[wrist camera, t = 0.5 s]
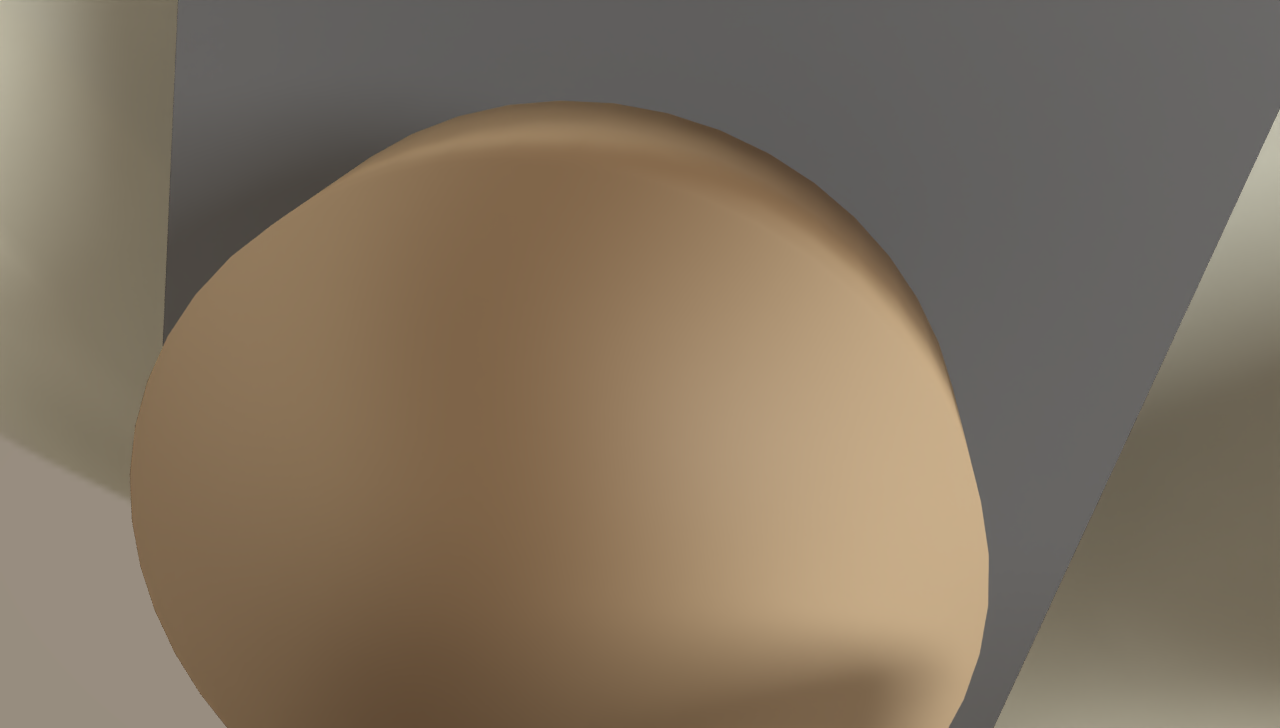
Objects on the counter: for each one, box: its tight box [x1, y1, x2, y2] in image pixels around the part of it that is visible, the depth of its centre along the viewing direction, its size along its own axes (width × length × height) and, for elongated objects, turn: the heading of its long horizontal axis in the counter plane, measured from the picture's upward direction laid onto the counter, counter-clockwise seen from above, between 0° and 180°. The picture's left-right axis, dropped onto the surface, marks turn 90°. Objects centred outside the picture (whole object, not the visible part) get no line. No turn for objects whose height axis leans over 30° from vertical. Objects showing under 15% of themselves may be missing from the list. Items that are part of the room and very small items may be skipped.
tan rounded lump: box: [130, 101, 989, 728], centre depth 12 cm, size 7×7×6 cm
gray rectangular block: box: [163, 0, 1280, 728], centre depth 17 cm, size 12×14×6 cm
